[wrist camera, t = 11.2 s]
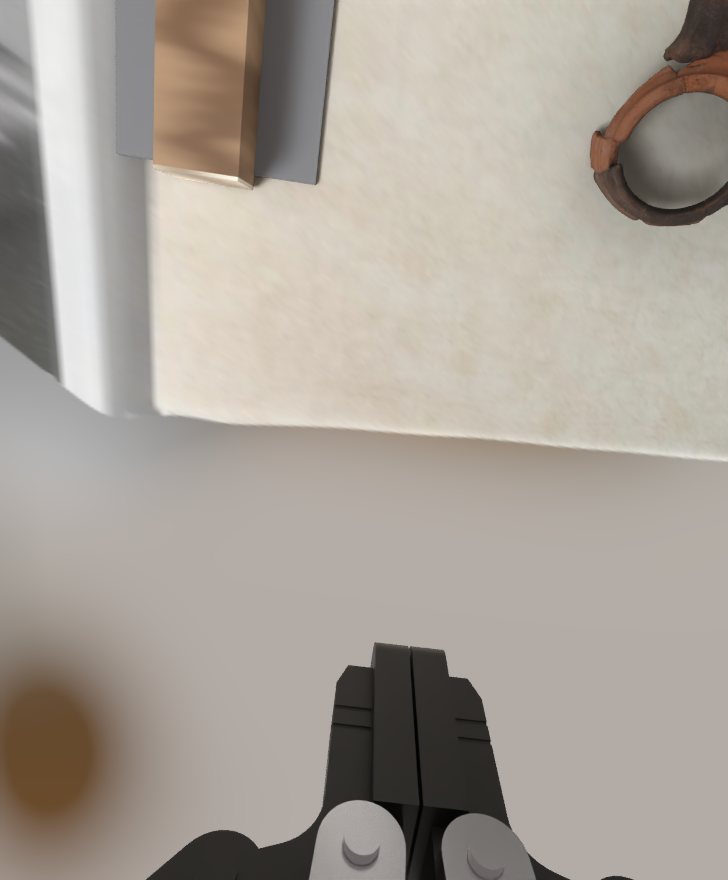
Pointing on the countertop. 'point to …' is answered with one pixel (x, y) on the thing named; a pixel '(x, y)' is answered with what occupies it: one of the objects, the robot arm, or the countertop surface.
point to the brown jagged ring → (712, 71)
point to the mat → (281, 86)
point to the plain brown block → (207, 89)
